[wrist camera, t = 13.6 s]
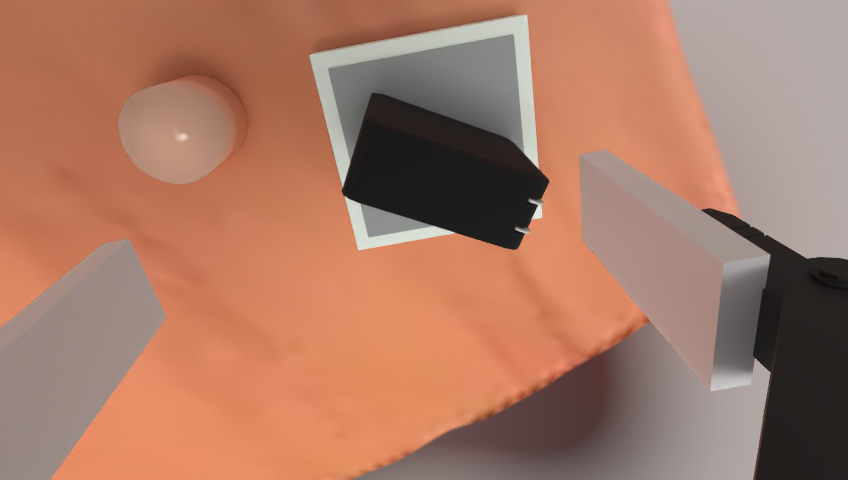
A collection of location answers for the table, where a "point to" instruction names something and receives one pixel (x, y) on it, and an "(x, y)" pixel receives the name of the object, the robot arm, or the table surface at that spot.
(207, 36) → the table surface
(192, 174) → the pale pink rounded piece
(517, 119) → the stand
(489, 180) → the electronic device
